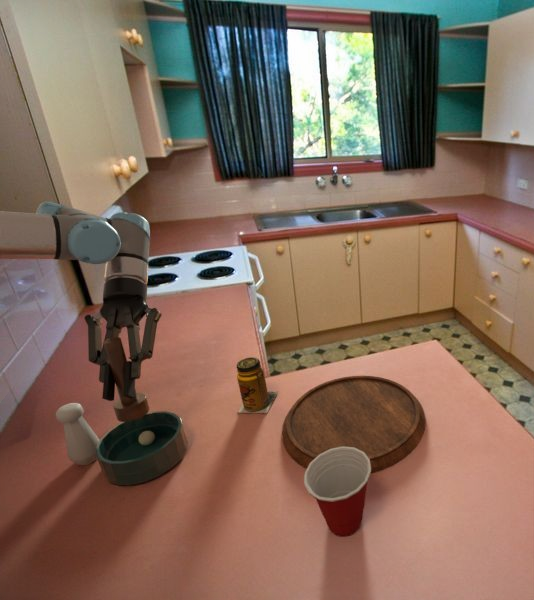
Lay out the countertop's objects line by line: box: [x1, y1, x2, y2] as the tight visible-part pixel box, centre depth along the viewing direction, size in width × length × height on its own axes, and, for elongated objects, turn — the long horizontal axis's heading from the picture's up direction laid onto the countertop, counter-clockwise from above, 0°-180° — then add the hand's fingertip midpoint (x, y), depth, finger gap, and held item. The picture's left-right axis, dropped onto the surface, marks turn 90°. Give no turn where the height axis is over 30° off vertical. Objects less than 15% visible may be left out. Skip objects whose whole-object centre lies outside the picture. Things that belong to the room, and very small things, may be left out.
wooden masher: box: [102, 336, 150, 423], centre depth 82 cm, size 6×6×16 cm
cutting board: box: [281, 375, 426, 475], centre depth 96 cm, size 32×32×3 cm
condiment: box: [236, 356, 279, 414], centre depth 102 cm, size 7×8×12 cm
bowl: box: [96, 410, 189, 486], centre depth 87 cm, size 15×15×6 cm
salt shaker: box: [55, 402, 100, 466], centre depth 86 cm, size 6×6×13 cm
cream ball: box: [139, 431, 155, 446], centre depth 91 cm, size 3×3×3 cm
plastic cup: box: [303, 447, 372, 538], centre depth 70 cm, size 11×11×12 cm
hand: (118, 397), depth 79 cm, fingers closed on wooden masher, 3 cm apart
